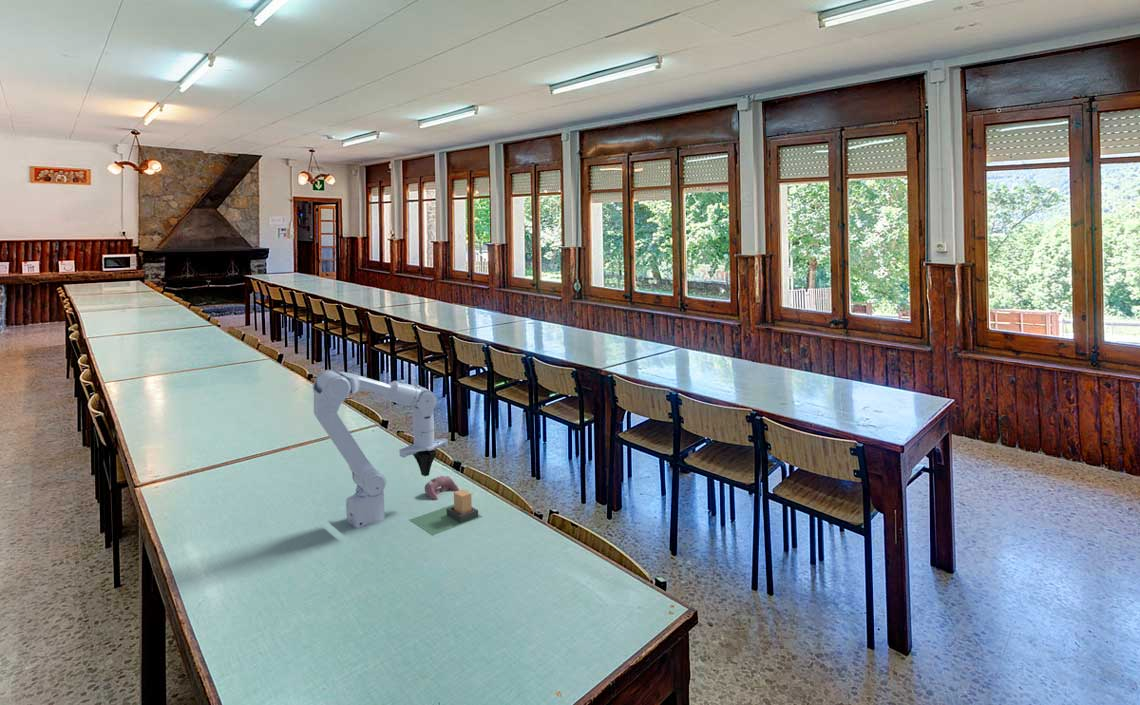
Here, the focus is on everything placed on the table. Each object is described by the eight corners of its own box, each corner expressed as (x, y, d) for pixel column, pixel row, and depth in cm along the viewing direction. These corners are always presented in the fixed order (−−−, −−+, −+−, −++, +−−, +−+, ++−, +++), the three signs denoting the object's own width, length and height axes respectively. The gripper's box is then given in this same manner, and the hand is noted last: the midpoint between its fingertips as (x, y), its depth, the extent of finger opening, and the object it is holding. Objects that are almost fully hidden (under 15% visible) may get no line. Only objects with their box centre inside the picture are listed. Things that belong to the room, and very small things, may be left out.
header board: (432, 539, 159) (432, 528, 158) (409, 523, 167) (408, 512, 167) (482, 520, 170) (482, 509, 169) (458, 506, 178) (458, 496, 178)
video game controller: (452, 495, 190) (445, 473, 191) (461, 492, 187) (454, 470, 188) (427, 506, 182) (420, 483, 183) (436, 503, 179) (428, 480, 180)
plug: (462, 520, 167) (462, 496, 166) (454, 515, 170) (453, 492, 169) (471, 517, 169) (471, 493, 168) (463, 512, 172) (462, 489, 171)
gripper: (407, 438, 166) (409, 485, 168) (453, 427, 175) (454, 472, 178) (394, 432, 171) (396, 478, 173) (439, 422, 180) (441, 465, 183)
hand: (425, 475), depth 176 cm, fingers closed
